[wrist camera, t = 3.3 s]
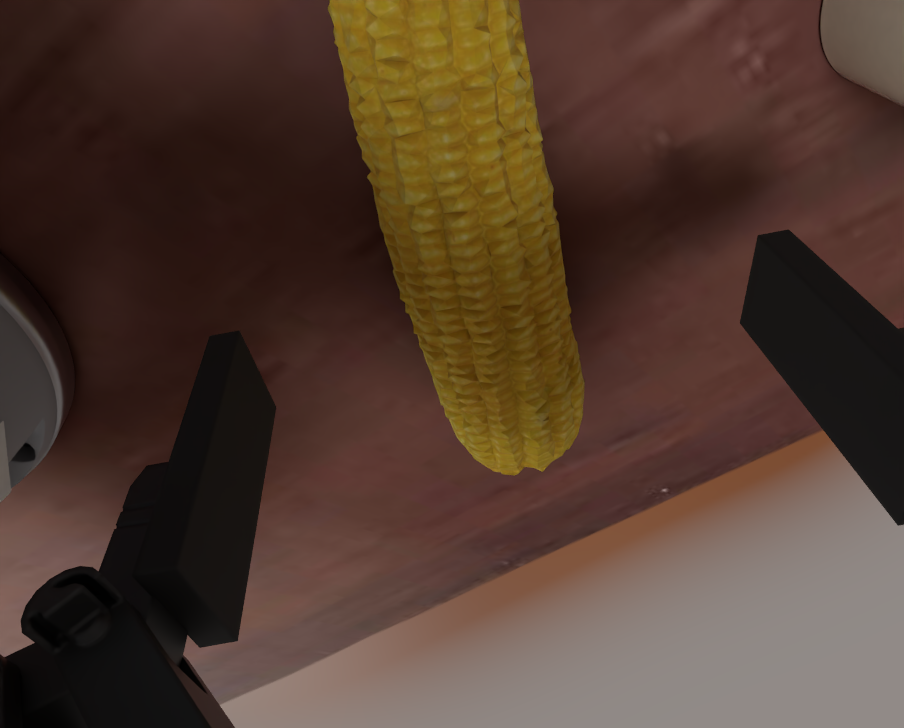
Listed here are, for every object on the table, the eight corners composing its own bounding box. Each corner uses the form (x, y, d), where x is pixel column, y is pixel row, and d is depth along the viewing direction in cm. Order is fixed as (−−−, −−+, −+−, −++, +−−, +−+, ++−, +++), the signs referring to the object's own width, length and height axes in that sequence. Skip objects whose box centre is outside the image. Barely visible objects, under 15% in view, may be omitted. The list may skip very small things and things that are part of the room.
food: (571, 374, 28) (612, 477, 23) (453, 406, 28) (470, 513, 24) (460, -265, 14) (507, -314, 10) (234, -183, 15) (177, -194, 10)
